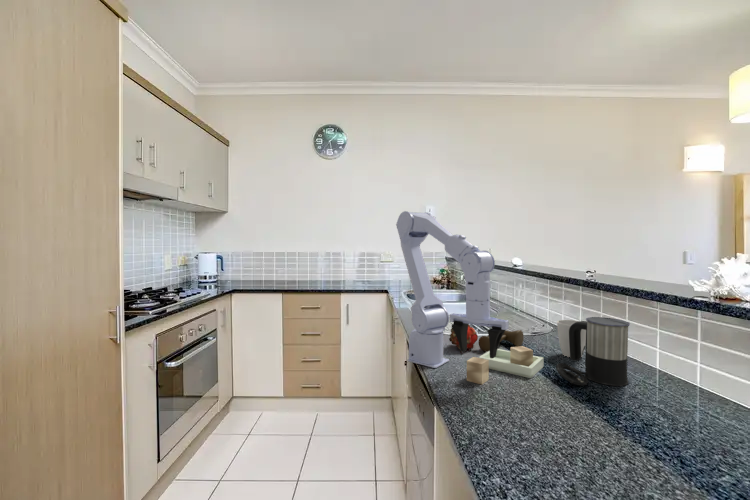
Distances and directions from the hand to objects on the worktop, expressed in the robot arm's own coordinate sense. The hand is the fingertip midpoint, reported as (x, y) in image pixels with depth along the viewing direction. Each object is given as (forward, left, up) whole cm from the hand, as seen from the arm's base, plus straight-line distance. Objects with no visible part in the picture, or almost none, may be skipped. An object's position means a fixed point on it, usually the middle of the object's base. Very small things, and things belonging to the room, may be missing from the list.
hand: (477, 354), depth 88 cm
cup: (+14, +36, -7) cm, 39 cm away
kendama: (-7, +33, -7) cm, 35 cm away
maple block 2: (+6, +15, -6) cm, 17 cm away
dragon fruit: (-15, +23, -7) cm, 28 cm away
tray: (+3, +15, -7) cm, 17 cm away
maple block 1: (0, 0, -7) cm, 7 cm away
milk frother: (+22, +18, -7) cm, 29 cm away
